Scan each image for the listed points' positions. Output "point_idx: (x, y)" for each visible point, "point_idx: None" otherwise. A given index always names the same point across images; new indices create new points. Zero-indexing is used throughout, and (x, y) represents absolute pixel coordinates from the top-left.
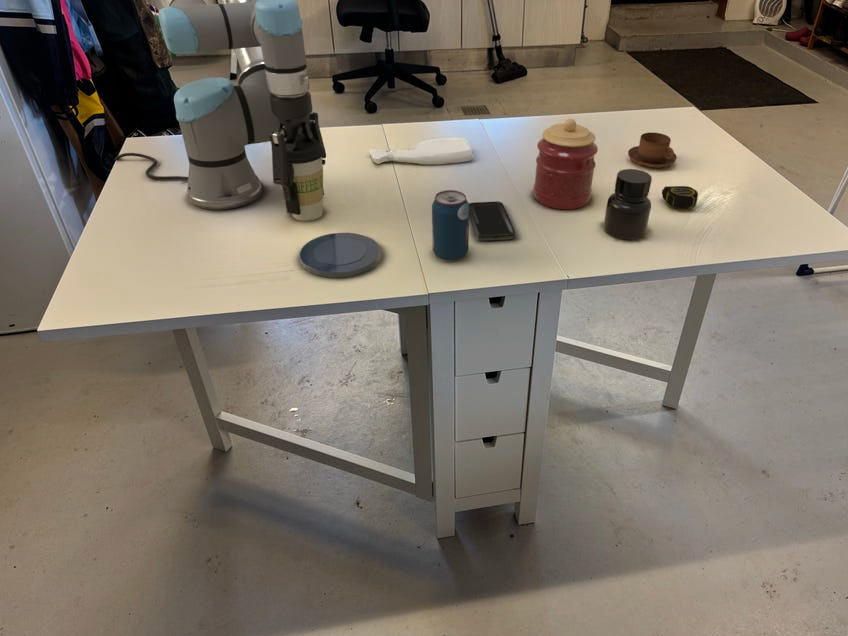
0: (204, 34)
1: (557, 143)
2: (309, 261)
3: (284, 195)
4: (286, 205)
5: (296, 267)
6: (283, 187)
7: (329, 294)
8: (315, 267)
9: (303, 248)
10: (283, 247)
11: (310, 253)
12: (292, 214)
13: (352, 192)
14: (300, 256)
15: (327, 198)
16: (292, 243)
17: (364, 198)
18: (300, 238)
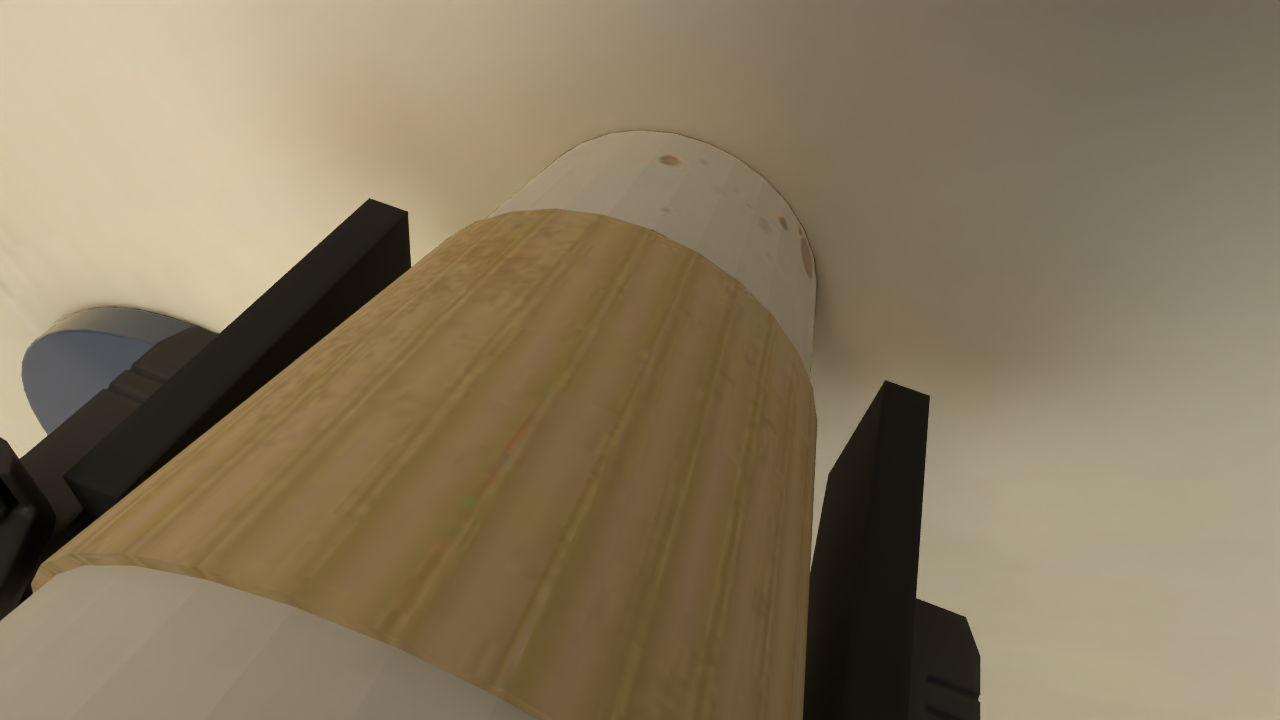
0: None
1: None
2: (54, 380)
3: (137, 374)
4: (316, 253)
5: (31, 294)
6: (40, 465)
7: (12, 429)
8: (40, 407)
9: (120, 343)
10: (117, 181)
11: (109, 381)
12: (567, 153)
13: (1180, 589)
14: (50, 336)
15: (1054, 411)
16: (195, 231)
17: (1016, 635)
18: (279, 272)
